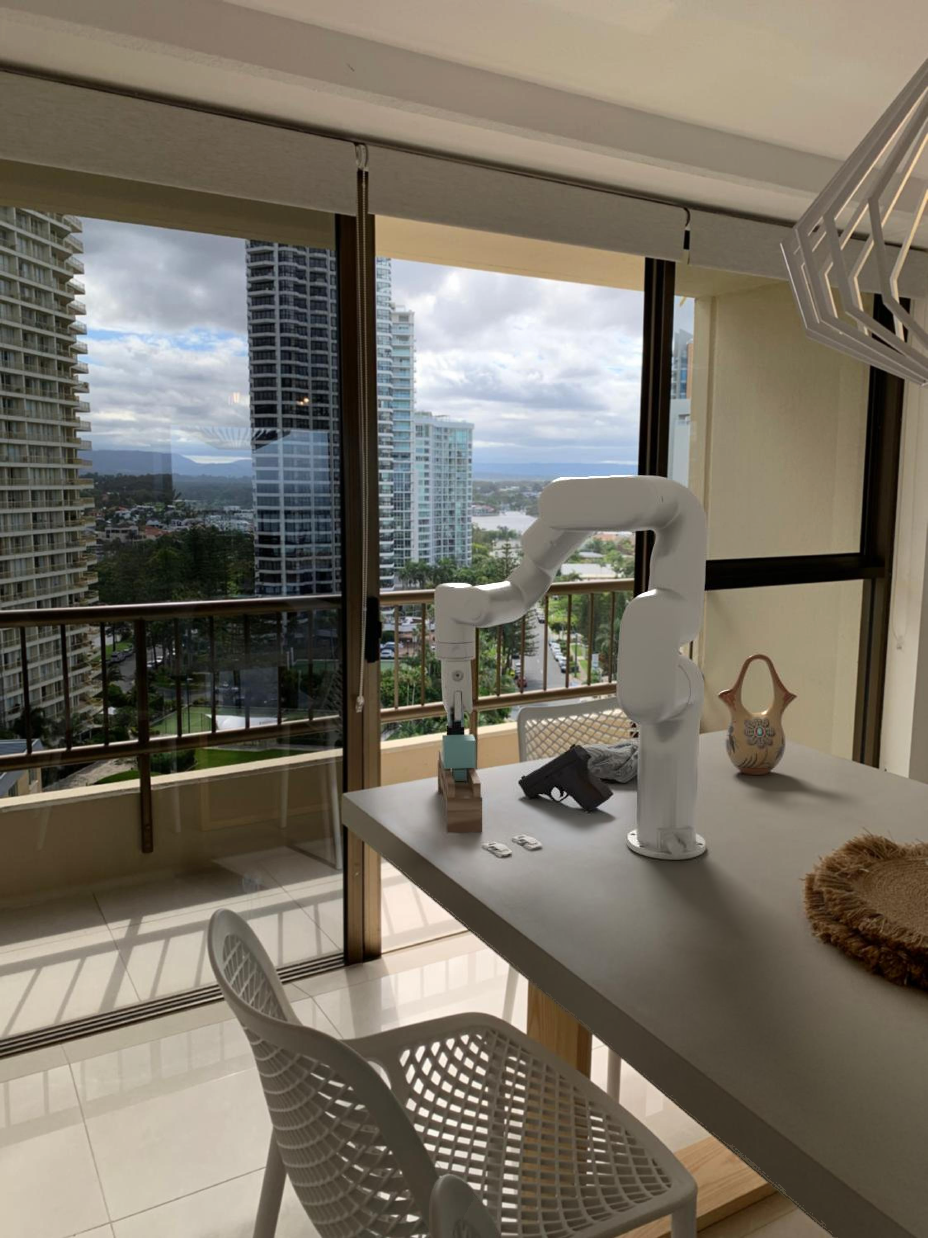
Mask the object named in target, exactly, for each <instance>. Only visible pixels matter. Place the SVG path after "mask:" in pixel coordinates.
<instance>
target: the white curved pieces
mask: <svg viewBox="0 0 928 1238" xmlns="http://www.w3.org/2000/svg"><path fill="white" fill-rule="evenodd" d="M511 841H512V842H514V843H517V844H518V843H523V842H526V843H525V844H524V845H523V848H525V849H527V850H529V851H532V850H536V849H539V848H542V847H543V846H544V845H543V844H542V843H541V842H539V841H538V840H537V839H536V837H535V838H534V837H532V836H527V835H526V834H520V835H518V836H517V835H516V836H513V837H512V838H511ZM481 848H483V849H485V850H490V852H491V853H493V854H494V855H495V856H496V857H499V858H502V857H507V856H508V855H510V856H511V855H513V852H512V850H511V849H509V847H508V846H507V845H505V844H502V843H498V842H497V841H492V842H487V843H483V844H482V845H481ZM494 849H497V850H494Z"/></svg>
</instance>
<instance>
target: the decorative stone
mask: <svg viewBox="0 0 928 1238" xmlns="http://www.w3.org/2000/svg"><path fill="white" fill-rule="evenodd" d="M581 746H582V747H583V748H584V749H585V750H586V751H587V752H588V753H589V754H590V755H591V756H592V758H590V759H589V760H588V769H589V770H590V772H592V773H593V774H594V775H595V776H596V777H597V778H599V779H601V780H602V779H603V780H615V781H617V782H619V783H621V784H622V783H624V784H625V783H627V782H629V781H630V780H632V779H633V778H634V777H636V776H638V740H636V739H632V738H628V739H627V738H626V739H625V740H619V741H617V742H615V743H614V744H610V743H608V744H605V743H597V744H596V743H595V744H584V745H581ZM588 753H587V754H588Z"/></svg>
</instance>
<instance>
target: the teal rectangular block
mask: <svg viewBox="0 0 928 1238" xmlns="http://www.w3.org/2000/svg"><path fill="white" fill-rule="evenodd" d="M441 739H442V741H441V743H442V749H443V765H444V769H452V775H453V779H454V781H465V780H466V768H475V769H476V765H477V764H476V763H477V762H476V760H477V759H476V756H477V755H476V750H477V749H476V748H477V747H476V746H477V745H476V744H477V743H476V739H475V736H474V734H472V733H471V734H465V735H447V734H443V735H442V738H441Z"/></svg>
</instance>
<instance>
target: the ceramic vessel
mask: <svg viewBox="0 0 928 1238" xmlns="http://www.w3.org/2000/svg"><path fill="white" fill-rule="evenodd" d="M757 660H762V661H764V662H765V663H766V665H767V668H768V670H769V671H768V672H769V674H770V676H771V682H772V689H773V690H772V691H773V696H772V697H773V699H772V702H771V703H770V705H769V706H768V707H767V708H765V709H764V710H762V711H759V712H751V711H749V710H748V709H746V707H745V706H744V704H743V703H742V690H743V689H742V688H743V684H744V681H745V676H746V673H747V671H748V668H749V667H750V664H751V663H753V661H757ZM775 668H776V667H775V666H774V663H773V661H772V660H771V659H770V657H769V656H767V655H765V654H762V653H757V654H756V653H755V654H752V655H750V656H749V657H747V658H746V659H745V661H744V662H743V664H742V666H741V669H740V671H739V674H738V676H737V679H736V681H735V683H734V684H733V686H732V688H731V689H730V688H729V689H726V690H723V691H720V692H719V693H718V694H717V695H716V697H717V698H718V700H720V701H721V702H722V703H723V705H724V706H726V708H727V710H728V712H729V715H730V722H729V723H730V724H729V726H728V728H727V730H726V731H727V732H726V735H725V740H724V741H725V751H726V753H727V756H728V759H729V760H730V762H731V763H732V765H733V766H734V767H735V768H736V769H737V770H738V771H739V772H741V773H742V774H746V775H751V776H762V775H766V774H768V773H769V772H771V771H772V770H774V769H775V768H776V767H777V766H778V765H779V764H780V762H782V761H781V760H782V759H783V757H784V755H785V750H786V742H787V740H786V735H785V734H786V733H785V731H784V728H783V724H782V721H783V715H784V713H785V711H786V709H787V708H788V706H789V705H791V703H792V702H793V701H794V700H796V699H797V698H798V695H796V694H794V693H792V692H790V691H789V690H788V689H787V687H786V686H785V685H784V683H783V682H782V680H781V679H780V677H779V675H778V673H777V671H776V669H775Z"/></svg>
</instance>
